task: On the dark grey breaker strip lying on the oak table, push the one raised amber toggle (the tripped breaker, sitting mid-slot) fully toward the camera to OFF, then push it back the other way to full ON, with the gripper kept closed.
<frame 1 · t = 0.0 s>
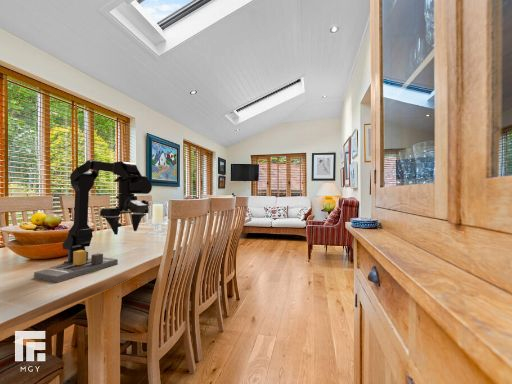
hand: (126, 232, 102), 14 cm above the table, fingers open, 9 cm apart
tripped toggle: (79, 257, 99), point 5 cm above the table, slide at 4.0 cm
panel: (79, 270, 99), on the table
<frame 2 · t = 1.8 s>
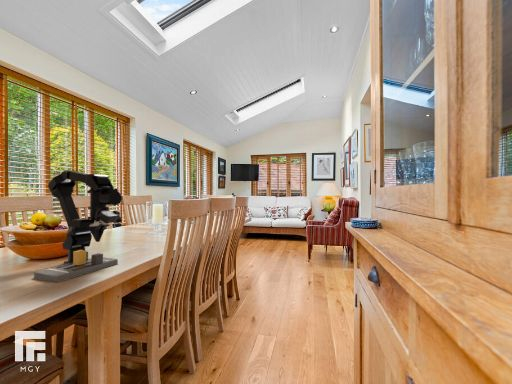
hand: (97, 241, 106), 10 cm above the table, fingers closed
nothing on the table moved.
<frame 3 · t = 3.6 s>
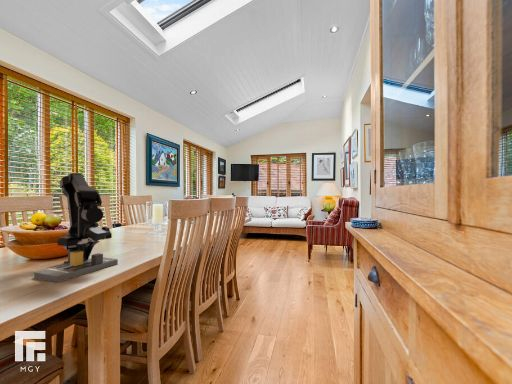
hand: (86, 259, 102), 4 cm above the table, fingers closed
tripped toggle: (76, 258, 98), point 5 cm above the table, slide at 2.8 cm, touching gripper
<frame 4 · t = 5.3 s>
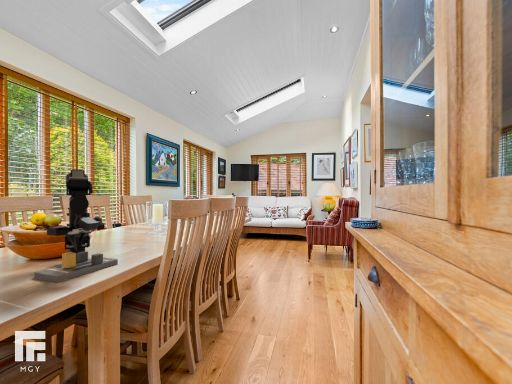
hand: (77, 250, 98), 8 cm above the table, fingers closed
tripped toggle: (69, 260, 96), point 5 cm above the table, slide at -0.1 cm
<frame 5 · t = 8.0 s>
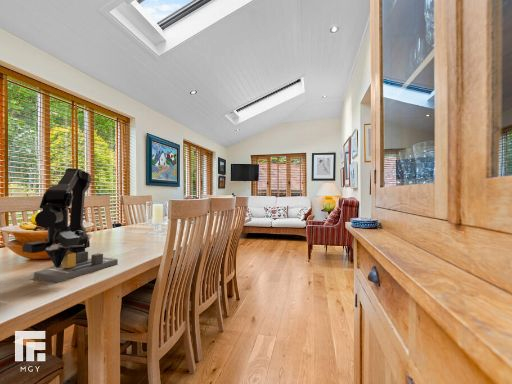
hand: (57, 267, 92), 3 cm above the table, fingers closed
tripped toggle: (69, 260, 96), point 5 cm above the table, slide at 0.0 cm, touching gripper
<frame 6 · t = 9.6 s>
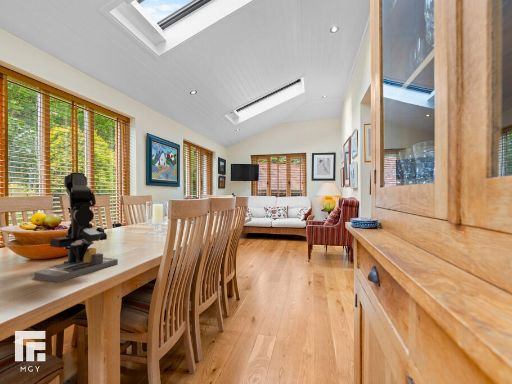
hand: (80, 261, 100), 3 cm above the table, fingers closed
tripped toggle: (89, 255, 103), point 5 cm above the table, slide at 8.1 cm, touching gripper
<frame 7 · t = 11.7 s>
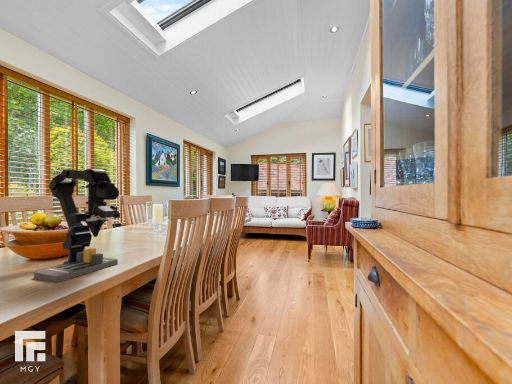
hand: (95, 236, 106), 12 cm above the table, fingers closed
tripped toggle: (89, 255, 103), point 5 cm above the table, slide at 8.1 cm
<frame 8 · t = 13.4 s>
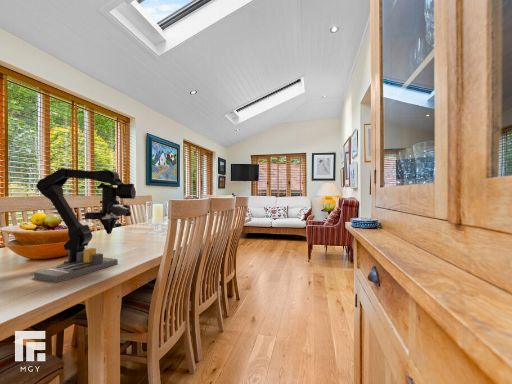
hand: (109, 233, 113), 12 cm above the table, fingers closed
nothing on the table moved.
at the end: tripped toggle slide at 8.1 cm; tripped toggle touching nothing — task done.
